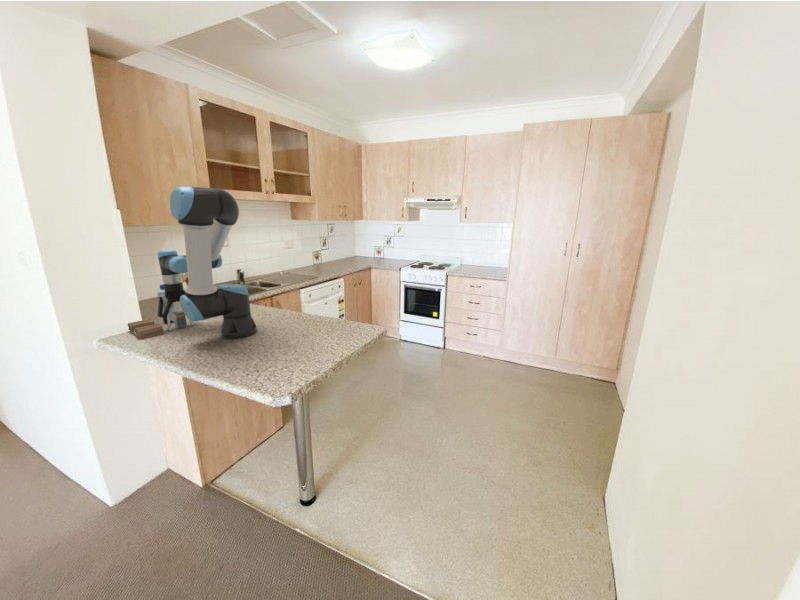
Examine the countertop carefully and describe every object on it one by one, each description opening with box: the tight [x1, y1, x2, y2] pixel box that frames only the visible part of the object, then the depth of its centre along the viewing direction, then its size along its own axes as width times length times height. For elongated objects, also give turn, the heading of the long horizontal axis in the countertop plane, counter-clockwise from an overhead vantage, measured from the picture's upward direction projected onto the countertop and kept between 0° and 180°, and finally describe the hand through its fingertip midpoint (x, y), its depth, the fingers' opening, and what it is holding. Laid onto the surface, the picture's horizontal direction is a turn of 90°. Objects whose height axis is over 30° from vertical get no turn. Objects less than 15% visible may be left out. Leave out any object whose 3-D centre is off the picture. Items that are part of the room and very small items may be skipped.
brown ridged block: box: [127, 318, 165, 340], centre depth 154 cm, size 18×9×4 cm, turn 52°
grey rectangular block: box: [172, 310, 188, 330], centre depth 160 cm, size 4×4×8 cm
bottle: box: [157, 283, 177, 323], centre depth 168 cm, size 7×7×20 cm
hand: (181, 327), depth 161 cm, fingers open, 9 cm apart
